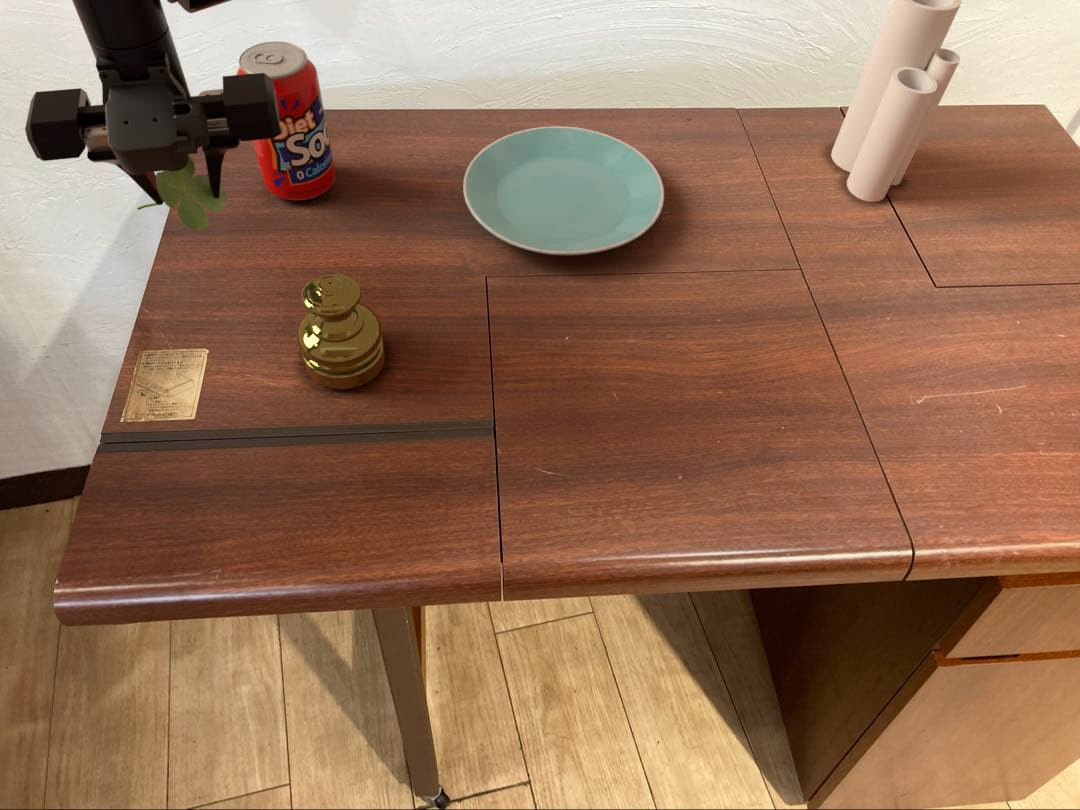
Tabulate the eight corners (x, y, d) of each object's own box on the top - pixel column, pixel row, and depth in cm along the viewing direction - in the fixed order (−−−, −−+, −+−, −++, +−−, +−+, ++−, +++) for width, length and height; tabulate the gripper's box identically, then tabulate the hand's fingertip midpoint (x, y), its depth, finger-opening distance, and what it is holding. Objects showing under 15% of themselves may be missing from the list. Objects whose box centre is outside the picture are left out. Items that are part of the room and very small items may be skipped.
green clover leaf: (189, 250, 77) (238, 228, 74) (116, 248, 70) (168, 224, 67) (167, 176, 77) (216, 152, 74) (91, 167, 69) (142, 140, 67)
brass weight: (341, 320, 79) (324, 242, 71) (402, 353, 77) (391, 276, 69) (288, 368, 75) (264, 291, 67) (350, 404, 73) (333, 329, 65)
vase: (822, 144, 100) (885, -21, 84) (877, 141, 101) (949, -22, 85) (856, 202, 94) (930, 36, 78) (914, 200, 95) (1000, 34, 79)
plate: (430, 238, 86) (428, 218, 84) (507, 127, 99) (507, 106, 97) (628, 297, 83) (631, 277, 80) (681, 173, 95) (686, 153, 93)
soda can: (277, 159, 93) (246, 33, 81) (344, 166, 93) (323, 41, 81) (256, 202, 88) (219, 75, 77) (327, 210, 88) (301, 83, 76)
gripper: (-28, 102, 54) (68, 274, 66) (262, 77, 57) (302, 245, 70) (-4, 18, 60) (79, 189, 73) (255, 0, 64) (293, 166, 76)
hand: (188, 198), depth 73 cm, fingers closed on green clover leaf, 4 cm apart
